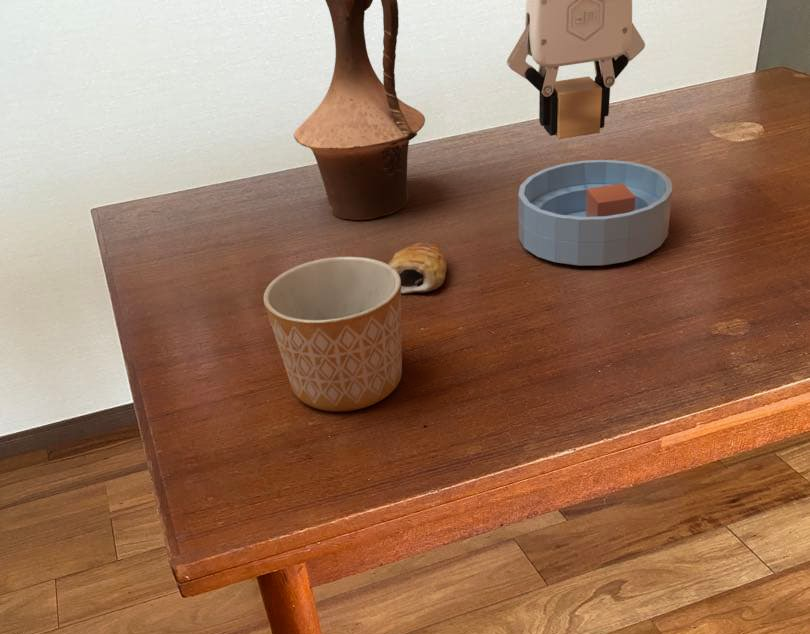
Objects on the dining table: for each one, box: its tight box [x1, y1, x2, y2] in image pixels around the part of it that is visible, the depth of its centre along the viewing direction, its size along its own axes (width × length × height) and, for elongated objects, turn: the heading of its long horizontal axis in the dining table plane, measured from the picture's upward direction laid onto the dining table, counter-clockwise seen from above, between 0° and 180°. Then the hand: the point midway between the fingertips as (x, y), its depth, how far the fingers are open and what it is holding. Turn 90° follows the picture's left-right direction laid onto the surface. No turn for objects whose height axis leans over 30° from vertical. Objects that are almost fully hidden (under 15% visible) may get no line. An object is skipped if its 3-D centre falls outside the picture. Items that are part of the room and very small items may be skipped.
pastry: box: [387, 242, 448, 295], centre depth 102 cm, size 9×7×4 cm
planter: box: [263, 256, 403, 413], centre depth 84 cm, size 13×13×10 cm
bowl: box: [517, 159, 674, 267], centre depth 105 cm, size 17×17×6 cm
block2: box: [586, 184, 636, 217], centre depth 105 cm, size 4×4×4 cm
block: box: [554, 75, 602, 140], centre depth 95 cm, size 4×4×4 cm
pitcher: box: [293, 0, 426, 221], centre depth 111 cm, size 18×17×28 cm
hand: (573, 126), depth 96 cm, fingers closed on block, 4 cm apart
